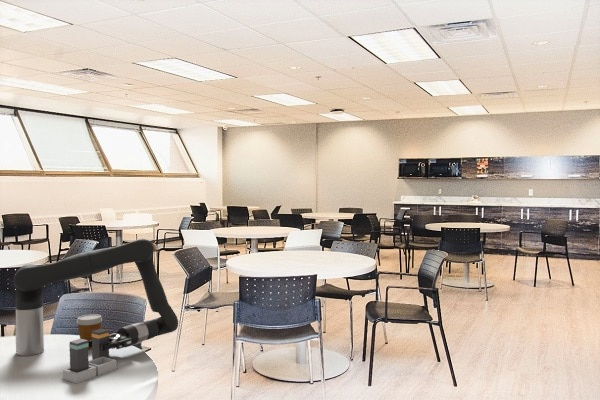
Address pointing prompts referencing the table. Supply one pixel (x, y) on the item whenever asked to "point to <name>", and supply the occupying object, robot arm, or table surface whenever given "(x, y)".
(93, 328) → the disposable coffee cup
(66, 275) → the robot arm
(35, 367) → the table surface
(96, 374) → the grey double socket holder
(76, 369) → the twin plug
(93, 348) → the plug
